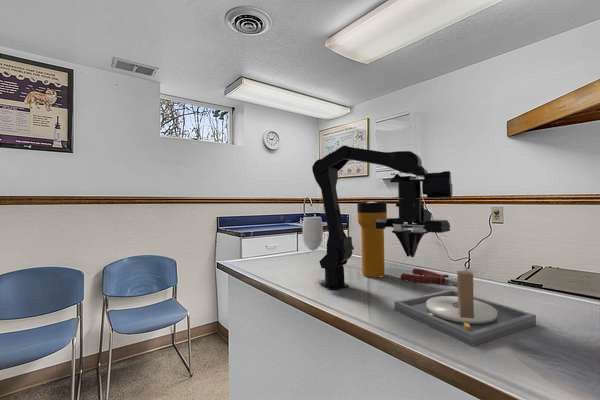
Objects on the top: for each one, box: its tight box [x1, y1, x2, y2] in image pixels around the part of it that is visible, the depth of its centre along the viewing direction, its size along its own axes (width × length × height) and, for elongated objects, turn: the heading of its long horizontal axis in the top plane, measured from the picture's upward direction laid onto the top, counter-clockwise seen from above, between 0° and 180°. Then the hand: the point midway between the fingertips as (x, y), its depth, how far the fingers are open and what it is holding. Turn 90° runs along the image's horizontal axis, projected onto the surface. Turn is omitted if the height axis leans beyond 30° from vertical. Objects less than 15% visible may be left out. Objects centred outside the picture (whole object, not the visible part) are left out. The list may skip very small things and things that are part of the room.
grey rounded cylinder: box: [302, 216, 324, 251], centre depth 105 cm, size 7×7×21 cm
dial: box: [426, 270, 497, 324], centre depth 67 cm, size 14×14×10 cm
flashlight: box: [356, 201, 388, 278], centre depth 104 cm, size 10×26×10 cm
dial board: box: [393, 289, 537, 347], centre depth 67 cm, size 20×20×2 cm
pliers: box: [400, 268, 474, 287], centre depth 95 cm, size 12×20×3 cm, turn 45°
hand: (410, 256), depth 80 cm, fingers closed
